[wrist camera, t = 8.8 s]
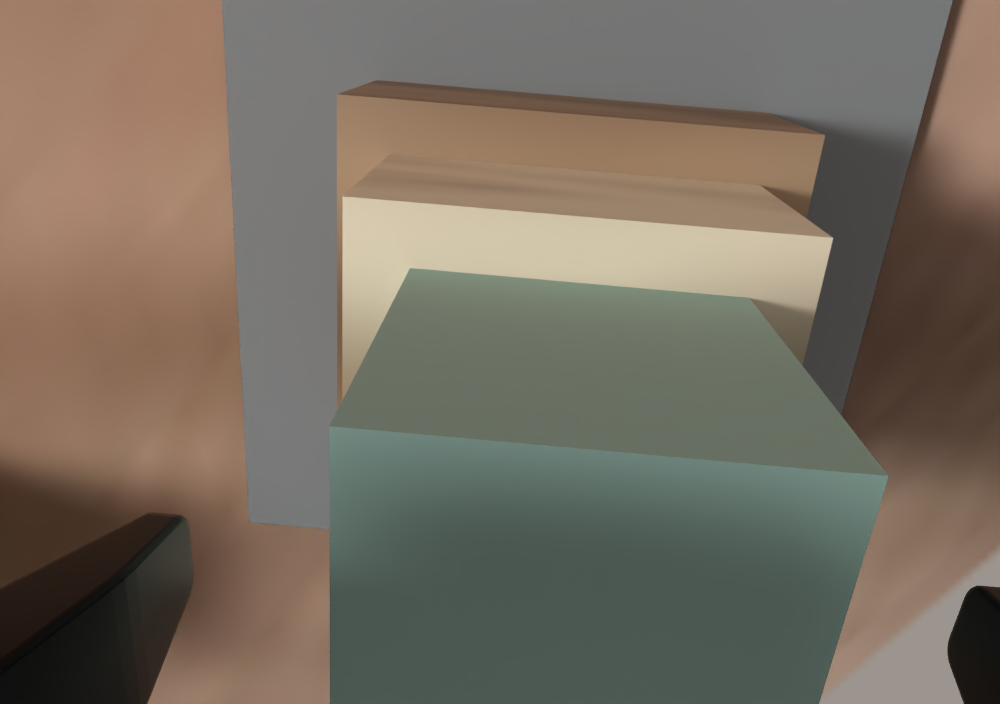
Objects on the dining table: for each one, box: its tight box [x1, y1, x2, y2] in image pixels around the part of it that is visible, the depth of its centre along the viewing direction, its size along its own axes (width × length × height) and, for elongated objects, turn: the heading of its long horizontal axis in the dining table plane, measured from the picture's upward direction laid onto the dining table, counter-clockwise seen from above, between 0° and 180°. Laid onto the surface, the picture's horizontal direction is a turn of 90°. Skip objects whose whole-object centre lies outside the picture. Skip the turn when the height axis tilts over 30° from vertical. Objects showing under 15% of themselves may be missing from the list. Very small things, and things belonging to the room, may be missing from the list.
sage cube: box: [329, 268, 889, 704], centre depth 10 cm, size 5×5×5 cm
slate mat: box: [222, 0, 953, 529], centre depth 20 cm, size 16×16×1 cm
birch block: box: [342, 154, 833, 400], centre depth 15 cm, size 7×7×4 cm
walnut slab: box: [337, 80, 825, 410], centre depth 18 cm, size 9×9×4 cm
